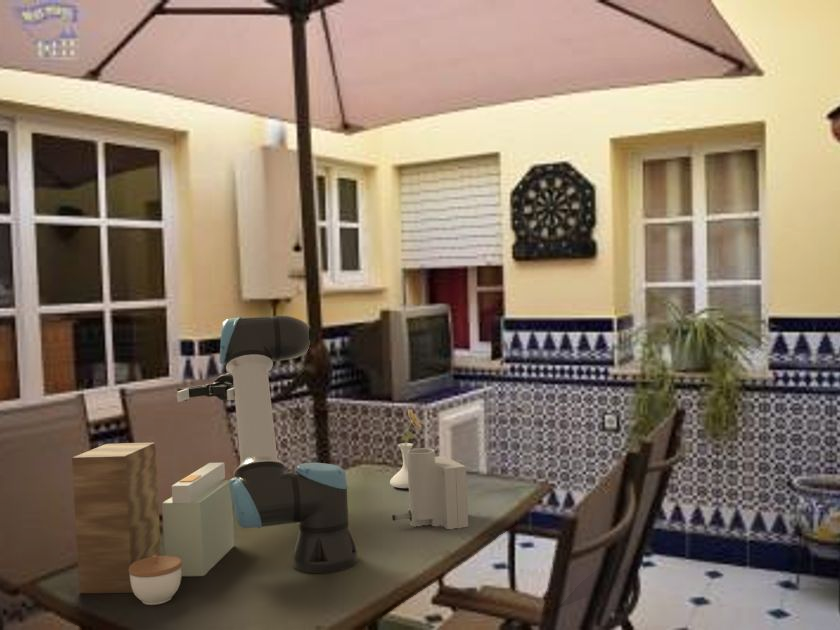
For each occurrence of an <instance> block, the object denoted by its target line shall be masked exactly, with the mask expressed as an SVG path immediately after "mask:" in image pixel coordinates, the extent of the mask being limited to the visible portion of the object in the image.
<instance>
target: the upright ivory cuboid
mask: <svg viewBox="0 0 840 630" xmlns="http://www.w3.org/2000/svg"><path fill="white" fill-rule="evenodd" d="M229 482H230V479H225V480H224V479H223V480H221V481H220V482H218V483H217V484H216V485H214V486H213V487H211V488H210V489H208V490H207V491H206V492H204V493H203V494H201V495H200V496H198V497H197V498H196V499H194V500H193V501H191V502H190V503H172V496H171V497H170V498H168V499H166V500H164V501H163V502H162V503H161V509H162V512H161V513H162V525H163V526H162V529H163V531H162V532H163V543H164V544H163V546H164V556H175V557H178V558H180V559H181V560H182V565H181V577H204V576H205V575H207V574H208V573H209V571H210V570H211V569H212V568H214V566H216V565H217V563H218V562H219V561H220V560H222V559H223V558H224V556H226V554H228V553H229V552H230V551H231V550H233V548H234V547H235V537H234V536H235V535H234V534H235V533H234V516H233V515H234V510H233V505H232V500H231V493H230V486H229Z"/></svg>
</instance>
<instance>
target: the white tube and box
mask: <svg viewBox="0 0 840 630" xmlns="http://www.w3.org/2000/svg"><path fill="white" fill-rule="evenodd" d="M407 462H408V485H409V488H408V501H409V502H408V503H409V507H407V512H405V513H397V514H392V516H391V519H392V521H393V522H394V521H401V520H407V519H408V522H409V524H410V526H411V527H414V528H416V526H417V527H423V526H422V525H425V526H431V525H432V527H433V526H435V527H439V526H438V525H441V526H440V527H443V526H444V527H445V528H444V527H443V528H444V529H446V530H447V529H450V530H455V529H454V528H458V529H462V527H463V528H468V527H469V511H468V510H469V509H468V505H469V504H468V487H467V484H468V483H467V482H468V481H467V467H466V465H463V464H461V463H460V462H458V461H455V460H453V459H451V458H449V457H447V456H445V455H439V456H437V455H436V452H435V449H433V448H429V447H428V448H426V447H424V448H418V447H417V448H411V450H408V451H407ZM429 524H431V525H429Z"/></svg>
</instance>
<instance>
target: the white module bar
mask: <svg viewBox="0 0 840 630" xmlns="http://www.w3.org/2000/svg"><path fill="white" fill-rule="evenodd" d="M225 465H226V464H225V462H208V463H206V464H205V465H204V466H202V467H200V468H199V469H197V470H195V471H194V472H192V473H191V474H189V475H186V477H184V478H181V480H179V481H177V482H175V483H174V484H173V485H171V497H172V503H190V502H191V501H193V500H194V499H196V498H197V497H198V496H200V495H201V494H203V493H204V492H206V491H207V490H208V489H210V488H211V487H213V486H214V485H216V484H217V483H218V482H220V481H221V480H224V479H226V469H225V467H226V466H225Z"/></svg>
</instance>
